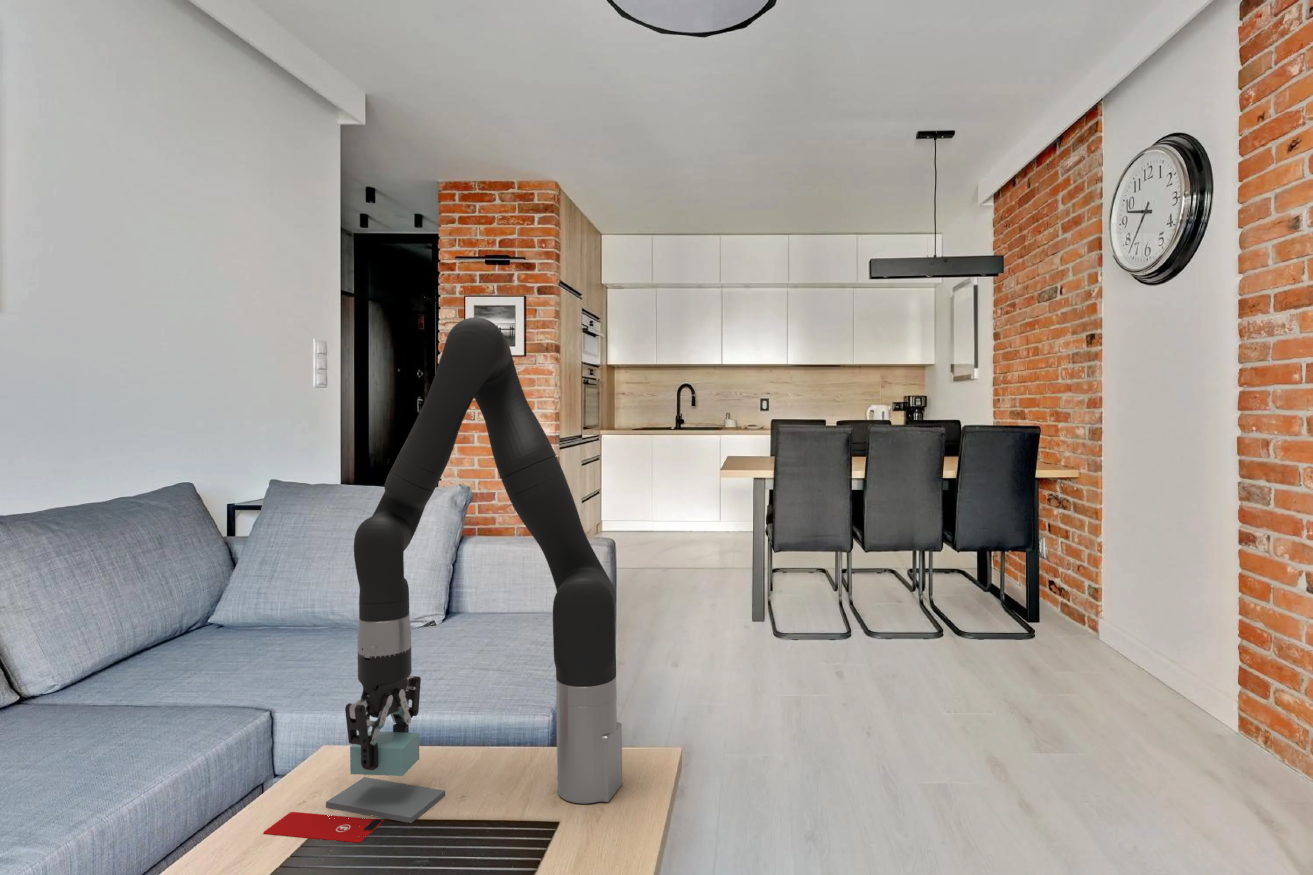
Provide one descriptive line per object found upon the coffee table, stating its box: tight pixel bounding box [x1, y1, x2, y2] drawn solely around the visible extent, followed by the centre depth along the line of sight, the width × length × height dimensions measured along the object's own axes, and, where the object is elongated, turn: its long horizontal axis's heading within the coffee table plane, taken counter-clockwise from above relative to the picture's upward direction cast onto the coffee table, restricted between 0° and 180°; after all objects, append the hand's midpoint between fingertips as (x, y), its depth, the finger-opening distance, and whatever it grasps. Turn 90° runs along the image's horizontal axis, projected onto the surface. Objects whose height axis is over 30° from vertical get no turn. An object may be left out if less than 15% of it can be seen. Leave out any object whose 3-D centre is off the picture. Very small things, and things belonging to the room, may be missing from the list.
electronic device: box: [262, 811, 384, 844], centre depth 98 cm, size 6×1×15 cm
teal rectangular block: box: [349, 730, 420, 777], centre depth 105 cm, size 6×8×4 cm
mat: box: [325, 776, 446, 824], centre depth 104 cm, size 15×8×1 cm, turn 72°
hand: (385, 758), depth 104 cm, fingers closed on teal rectangular block, 6 cm apart
